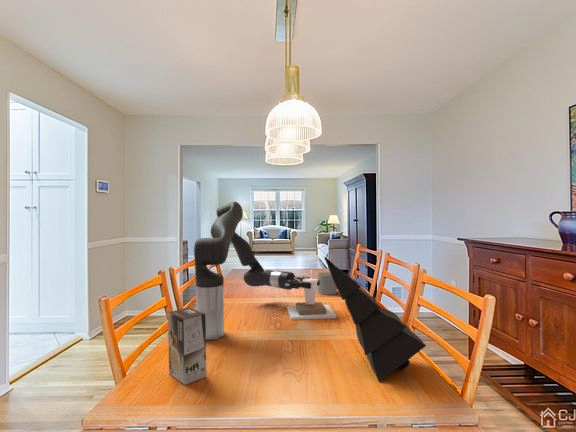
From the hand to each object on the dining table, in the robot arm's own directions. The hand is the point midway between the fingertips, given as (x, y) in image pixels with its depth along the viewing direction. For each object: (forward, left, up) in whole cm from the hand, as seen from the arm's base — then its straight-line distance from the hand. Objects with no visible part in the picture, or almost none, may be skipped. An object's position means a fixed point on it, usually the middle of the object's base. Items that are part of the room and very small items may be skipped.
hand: (315, 284), depth 136 cm
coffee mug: (+36, -14, -12) cm, 40 cm away
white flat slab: (+2, +2, -12) cm, 12 cm away
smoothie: (+2, +2, -8) cm, 9 cm away
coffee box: (-47, +42, -12) cm, 64 cm away
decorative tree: (-49, -6, -12) cm, 51 cm away
